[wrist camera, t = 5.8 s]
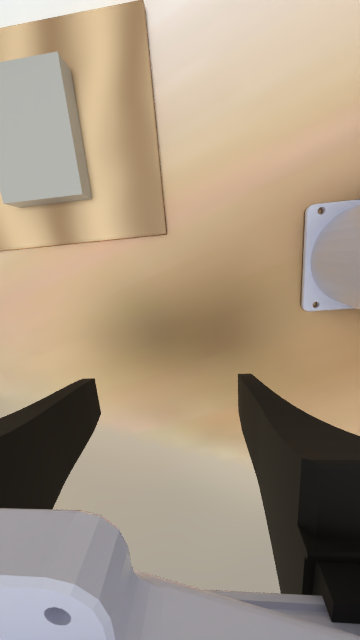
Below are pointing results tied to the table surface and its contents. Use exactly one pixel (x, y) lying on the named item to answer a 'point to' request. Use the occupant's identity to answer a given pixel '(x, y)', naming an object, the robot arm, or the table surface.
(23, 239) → the wooden board
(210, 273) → the table surface
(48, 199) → the tile
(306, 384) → the table surface
